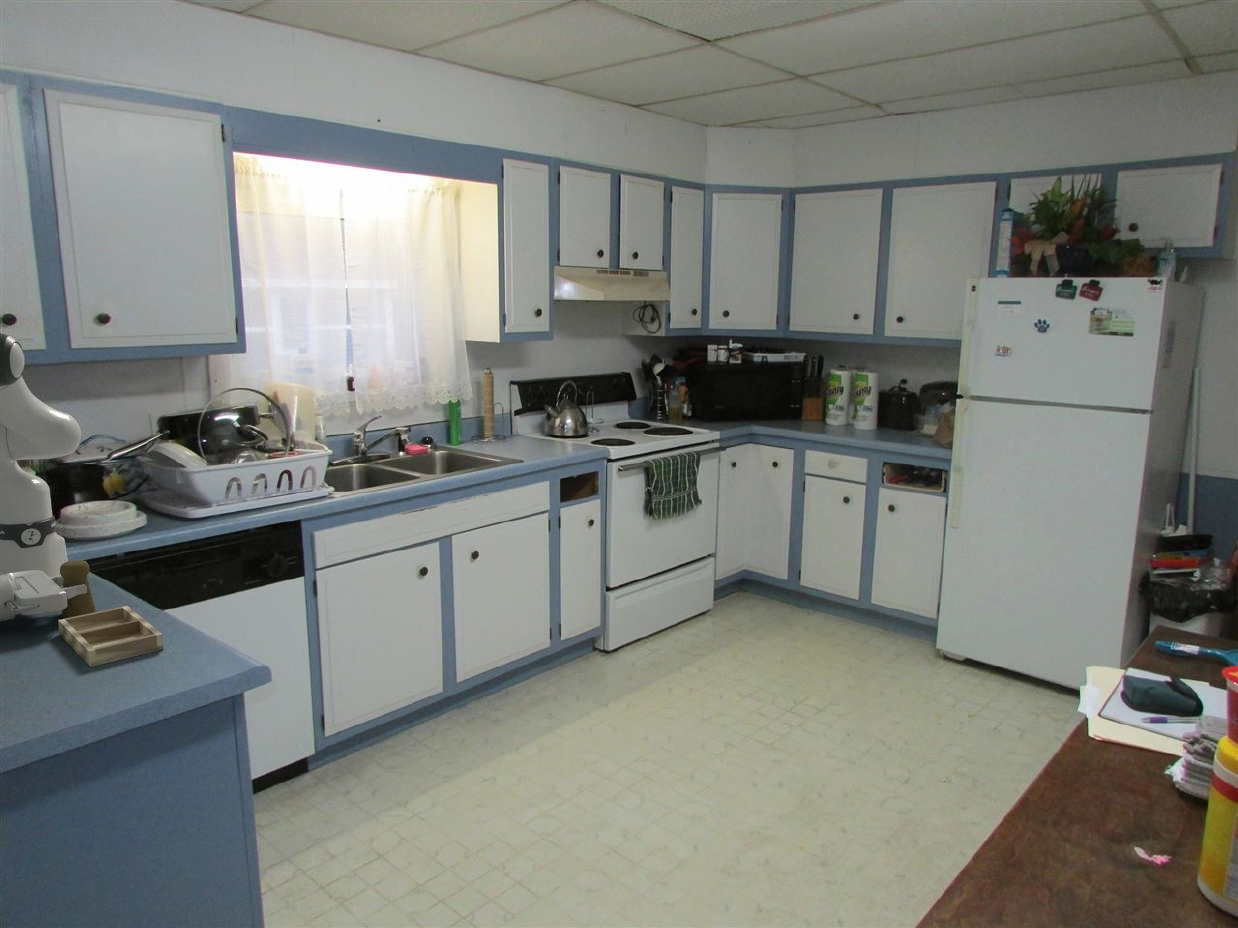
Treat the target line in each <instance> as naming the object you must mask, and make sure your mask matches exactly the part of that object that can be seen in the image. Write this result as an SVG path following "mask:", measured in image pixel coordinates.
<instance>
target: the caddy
mask: <svg viewBox="0 0 1238 928" xmlns="http://www.w3.org/2000/svg"><path fill="white" fill-rule="evenodd" d="M57 624H58V632H59V636H60V637H61V638H62V639H63V640H64V642H66V643H67V644H68V645H69V646H70V647H71V648H72V650H74V651H75V653H76V654H77V655H78V656H79V657H80V658H81V659H82V661H84V662H85V663H86V664H87V666H89V668H93V667H97V666H102V665H105V664H109V663H113V662H117V661H121V660H122V661H123V660H126V659H130V658H133V657H137V656H141V655H142V656H143V655H145V654H146V655H147V654H150V653H154V652H158V651H161V650H162V649H163V650H164V639H163V633H162V631H161V632H160V630H158V629H157V628H156V627H155V626H153V625H152V624H150V623H149V622H148V621H147V620H146V619H144V617H142V616H140V615H139V614H138V613H137V612H136V611H134V610H133V609H132V608H131V607H129V606H128V605H125V606H118V607H116V608H114V607H113V608H109V609H104V610H100V611H95V612H93V613H90V614H85V615H80V616H75V617H64V618H63V619H62V618H61V619H58V620H57Z"/></svg>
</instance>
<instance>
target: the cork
mask: <svg viewBox="0 0 1238 928" xmlns="http://www.w3.org/2000/svg"><path fill="white" fill-rule="evenodd" d="M88 574H90V565H89V563H88V562H87V561H86V560H83V559H82V560H79V559H75V560H73V559H72V560H68V562H65V563H63V564H62V565H61V567H60V575H61V577H62V578H64V582H63V586H62V588H65V587H66V588H69V587H72V586H75V585H76V584H82V583H83V584H85V585H86V586H87V592H86V593H84V594H79V595H76V596H74V597H72V598H70V599H67V608H65V609H63V610H61V617H64V618H70V617H75V616H80V615H85V614H90V613H94V612H97V611H96V606H95V602H94V598H93V595H92V590H91V586H90V582H89V577H88Z"/></svg>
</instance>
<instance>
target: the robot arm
mask: <svg viewBox="0 0 1238 928" xmlns="http://www.w3.org/2000/svg"><path fill="white" fill-rule="evenodd" d="M24 368H25V354H24V350H23V348H22V344H20V342H19V341H18V340H16V339H15V338H14V337H13V336H11V335H8V334H4V333H1V332H0V622H4V621H8V620H14V619H15V618H16V613H18V612H19V614H21V616H35V615H43V614H47V613H54V612H59V611H62V610H63V609H65V608H67V599H70V598H72V597H74V596H76V595H79V594H84V593H86V592H87V586H86V585H85V584H83V583H82V584H76V585H75V586H72V587H69V588H66V587H65V588H63V582H64V578H62V577H61V575H60V567H61V565H62V564H63V563H65V562H68V561H69V559H68V554H67V547H66V541H65V538H64V537H62V536H61V535H59V534H58V533H57V527H56V526H57V522H56V518H55V517H56V516H55V515H53V510H52V509H53V508H52V499H51V489H50V486H49V485H48V483H47V481H45V480H44V479H43V478H41V477H40V476H37V475H34V474H32V473H29V472H27V471H25V470H23V469H22V467H20V465H19V464H18V462H17V461H23V460H24V461H25V460H27V461H28V460H51V459H56V458H61V457H64V456H71V455H73V453H75V452H76V450H77V449H78V448H79V446H80V444H81V442H82V429H81V427H80V424H79V423H78V421H77V420H76V419H75V418H74V416H73V415H70V414H69V413H66V412H63V411H60V410H57V409H55V408H53V407H51V406H49V405H47V404H46V403H45V402H43V401H42V400H40V399H39V398H38V397H37V396H35V395H34V394H33V393H32V392H31V390H30V389H29V387H28V386H27V384H26V382H25V380H24V378H23V373H24Z"/></svg>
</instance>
